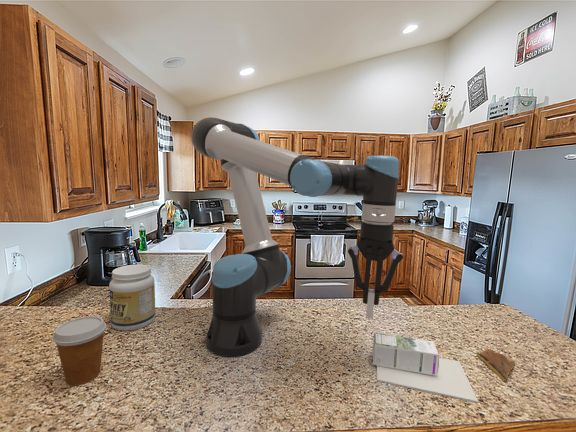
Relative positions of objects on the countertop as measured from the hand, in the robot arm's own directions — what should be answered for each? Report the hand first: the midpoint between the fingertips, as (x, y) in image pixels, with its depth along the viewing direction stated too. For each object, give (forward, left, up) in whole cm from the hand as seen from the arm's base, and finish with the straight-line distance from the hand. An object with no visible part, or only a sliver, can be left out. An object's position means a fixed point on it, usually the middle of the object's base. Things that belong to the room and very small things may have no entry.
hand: (369, 315), depth 71 cm
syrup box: (+1, 0, -9) cm, 9 cm away
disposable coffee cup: (-60, -27, -12) cm, 67 cm away
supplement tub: (-69, -4, -12) cm, 71 cm away
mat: (+13, 0, -12) cm, 17 cm away
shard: (+33, +9, -13) cm, 36 cm away
